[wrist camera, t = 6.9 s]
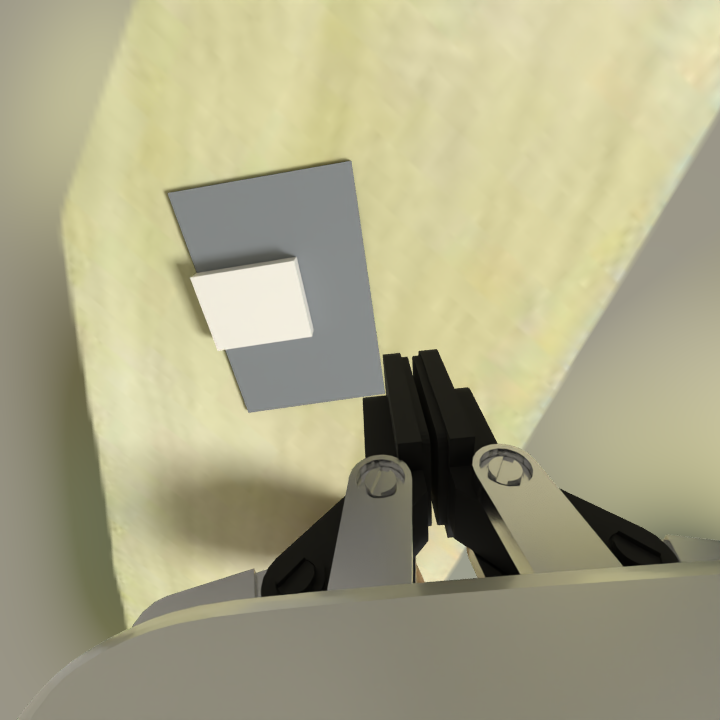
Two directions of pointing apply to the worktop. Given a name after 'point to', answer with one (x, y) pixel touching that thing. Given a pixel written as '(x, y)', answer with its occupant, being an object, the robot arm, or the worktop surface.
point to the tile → (254, 303)
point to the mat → (318, 272)
